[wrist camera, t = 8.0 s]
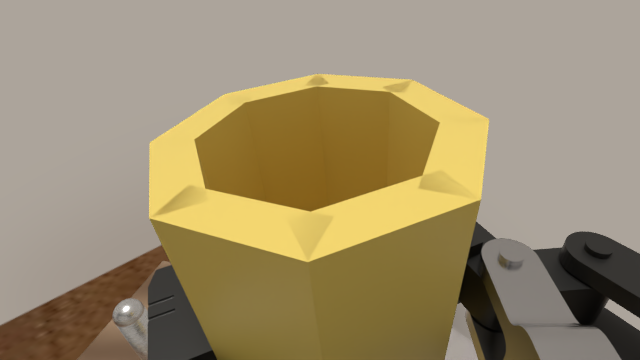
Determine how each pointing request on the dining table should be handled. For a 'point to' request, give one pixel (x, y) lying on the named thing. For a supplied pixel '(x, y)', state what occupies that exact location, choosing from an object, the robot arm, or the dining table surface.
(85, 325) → the dining table surface
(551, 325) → the robot arm
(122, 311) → the steel post
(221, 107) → the yellow hollow tube
